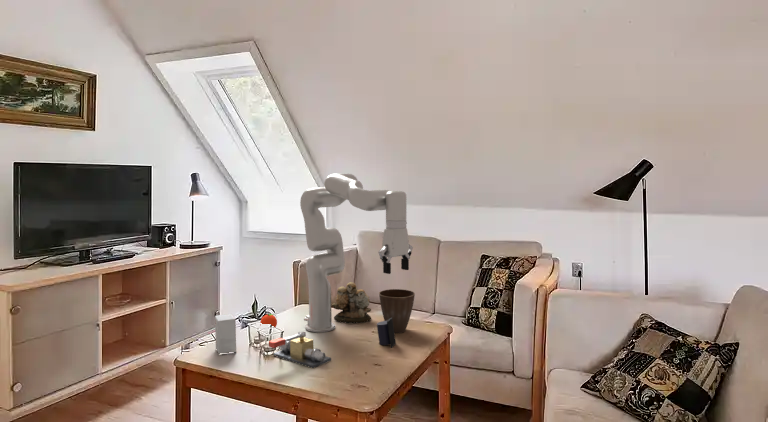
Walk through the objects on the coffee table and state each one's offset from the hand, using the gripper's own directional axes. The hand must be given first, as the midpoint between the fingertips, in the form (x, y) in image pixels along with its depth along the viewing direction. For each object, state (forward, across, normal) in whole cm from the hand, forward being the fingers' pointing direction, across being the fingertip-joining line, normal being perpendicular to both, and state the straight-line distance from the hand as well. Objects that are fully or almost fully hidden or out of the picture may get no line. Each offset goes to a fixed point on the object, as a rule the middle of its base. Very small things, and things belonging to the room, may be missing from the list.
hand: (396, 271), depth 194 cm
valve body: (+30, +28, -20) cm, 46 cm away
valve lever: (+22, +34, -19) cm, 45 cm away
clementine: (+30, +17, -56) cm, 66 cm away
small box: (+30, +43, -46) cm, 70 cm away
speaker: (+30, -3, -8) cm, 32 cm away
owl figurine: (+31, -17, -43) cm, 56 cm away
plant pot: (+30, -19, -17) cm, 40 cm away
